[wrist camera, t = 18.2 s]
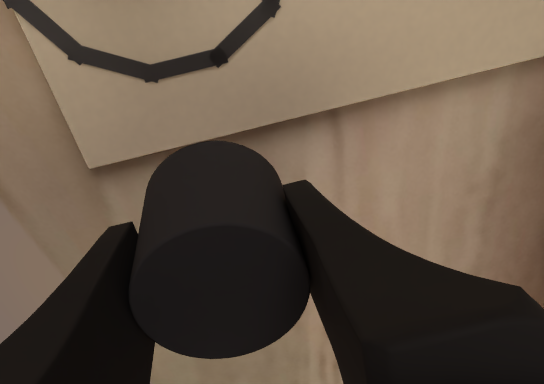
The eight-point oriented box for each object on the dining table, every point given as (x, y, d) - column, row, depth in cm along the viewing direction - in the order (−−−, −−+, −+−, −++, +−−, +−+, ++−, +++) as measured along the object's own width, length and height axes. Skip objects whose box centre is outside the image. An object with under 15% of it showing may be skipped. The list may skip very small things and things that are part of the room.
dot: (170, 269, 15) (162, 376, 11) (124, 159, 13) (98, 250, 9) (293, 239, 15) (322, 336, 11) (269, 124, 13) (295, 203, 9)
